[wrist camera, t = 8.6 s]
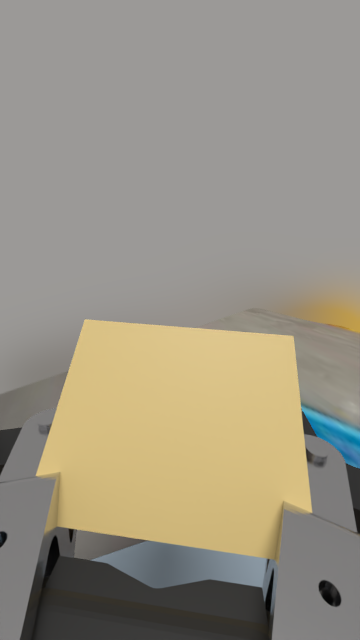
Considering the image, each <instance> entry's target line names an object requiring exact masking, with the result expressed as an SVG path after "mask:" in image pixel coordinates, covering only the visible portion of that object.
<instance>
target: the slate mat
mask: <svg viewBox="0 0 360 640" xmlns="http://www.w3.org/2000/svg"><path fill="white" fill-rule="evenodd" d="M91 561H97V562H103V563H108V564H109V565H111V566H113V567H115V568H117V569H119V570H120V571H122V572H124V573H126V574H128V575H130V576H131V577H133V578H135V579H137V580H139V581H141V582H142V583H144V584H146V585H148V586H150V587H152V588H165V587H170V586H176V585H181V584H186V583H192V582H197V581H203V580H208V579H212V580H218V581H224V582H231V583H237V584H243V585H250V586H256V587H263V580H264V573H265V565H266V558H261V557H254V556H248V555H241V554H235V553H228V552H221V551H215V550H208V549H202V548H195V547H189V546H182V545H176V544H169V543H162V542H156V541H149V540H148V541H145V542H142V543H139V544H136V545H133V546H130V547H127V548H124V549H122V550H119V551H116V552H113V553H110V554H107V555H104V556H101V557H98V558H95V559H92V560H91Z"/></svg>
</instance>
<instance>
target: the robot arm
mask: <svg viewBox="0 0 360 640" xmlns="http://www.w3.org/2000/svg"><path fill="white" fill-rule="evenodd" d="M56 410H57V408H54V409H48V410H45V411H42V412H40V413H37V414H36V415H34V416H32V417H31V418H30V419H28V420H27V421H26V422H25V424H24V425H23V427H22V428H15V429H7V430H0V640H360V469H359V468H356V467H353V466H350V465H348V464H346V463H345V460H344V458H343V456H342V455H341V454H340V452H339V451H338V450H337V449H336V448H335V447H334V446H332V445H331V444H329V443H328V442H326V441H324V440H322V439H320V438H318V437H317V436H316V434H315V432H314V430H313V428H312V427H311V425H310V423H309V421H308V420H307V418H306V416H305V414H304V412H303V411H302V409H301V412H302V421H303V431H304V440H305V449H306V459H307V468H308V477H309V487H310V496H311V505H312V513H311V512H309V511H306V510H304V509H302V508H300V507H297V506H295V505H293V504H290V503H288V502H286V501H283V508H282V514H281V521H280V527H279V533H278V540H277V546H276V552H275V559H267V558H266V565H265V573H264V580H263V587H256V586H250V585H243V584H237V583H231V582H224V581H218V580H212V579H208V580H203V581H197V582H192V583H186V584H181V585H176V586H170V587H165V588H152V587H150V586H148V585H146V584H144V583H142V582H141V581H139V580H137V579H135V578H133V577H131V576H130V575H128V574H126V573H124V572H122V571H120V570H119V569H117V568H115V567H113V566H111V565H109V564H108V563H103V562H97V561H91V560H84V559H78V558H74V550H75V541H76V533H77V529H71V528H64V527H58V526H57V521H58V504H59V487H60V472H56V473H51V474H45V475H39V476H36V473H37V470H38V467H39V464H40V460H41V457H42V454H43V451H44V448H45V445H46V441H47V438H48V435H49V432H50V429H51V426H52V422H53V419H54V416H55V413H56Z"/></svg>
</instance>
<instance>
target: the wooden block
mask: <svg viewBox="0 0 360 640" xmlns="http://www.w3.org/2000/svg"><path fill="white" fill-rule="evenodd" d="M56 472H60V487H59V504H58V521H57V526H58V527H64V528H71V529H77V530H84V531H90V532H97V533H104V534H110V535H117V536H123V537H130V538H136V539H143V540H149V541H156V542H162V543H169V544H176V545H182V546H189V547H195V548H202V549H208V550H215V551H221V552H228V553H235V554H241V555H248V556H254V557H261V558H267V559H275V552H276V546H277V540H278V533H279V527H280V521H281V514H282V508H283V501H286V502H288V503H290V504H293V505H295V506H297V507H300V508H302V509H304V510H306V511H309V512H311V513H312V505H311V496H310V487H309V477H308V468H307V459H306V449H305V440H304V431H303V421H302V412H301V403H300V393H299V384H298V375H297V365H296V356H295V346H294V337H293V336H286V335H274V334H261V333H248V332H236V331H223V330H211V329H198V328H185V327H173V326H160V325H148V324H135V323H121V322H110V321H97V320H85V321H84V324H83V328H82V330H81V334H80V337H79V340H78V343H77V346H76V349H75V353H74V356H73V359H72V362H71V365H70V368H69V372H68V375H67V378H66V381H65V384H64V387H63V391H62V394H61V397H60V400H59V403H58V407H57V410H56V413H55V416H54V419H53V422H52V426H51V429H50V432H49V435H48V438H47V441H46V445H45V448H44V451H43V454H42V457H41V460H40V464H39V467H38V470H37V473H36V476H39V475H45V474H51V473H56Z"/></svg>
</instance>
